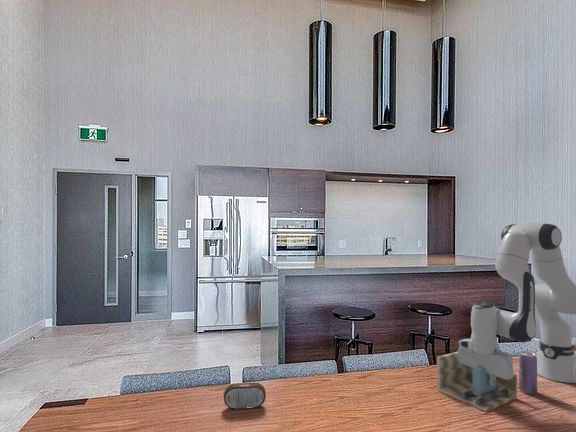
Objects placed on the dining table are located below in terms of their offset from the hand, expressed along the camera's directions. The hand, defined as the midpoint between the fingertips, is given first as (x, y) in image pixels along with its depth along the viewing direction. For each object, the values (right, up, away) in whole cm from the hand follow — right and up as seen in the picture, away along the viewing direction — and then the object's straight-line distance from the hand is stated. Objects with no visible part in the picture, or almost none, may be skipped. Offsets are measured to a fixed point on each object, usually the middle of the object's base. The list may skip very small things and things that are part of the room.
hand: (484, 382), depth 139 cm
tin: (-90, -6, -7) cm, 90 cm away
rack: (-1, -6, +4) cm, 7 cm away
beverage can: (+21, -7, +6) cm, 22 cm away
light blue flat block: (0, -4, 0) cm, 4 cm away
